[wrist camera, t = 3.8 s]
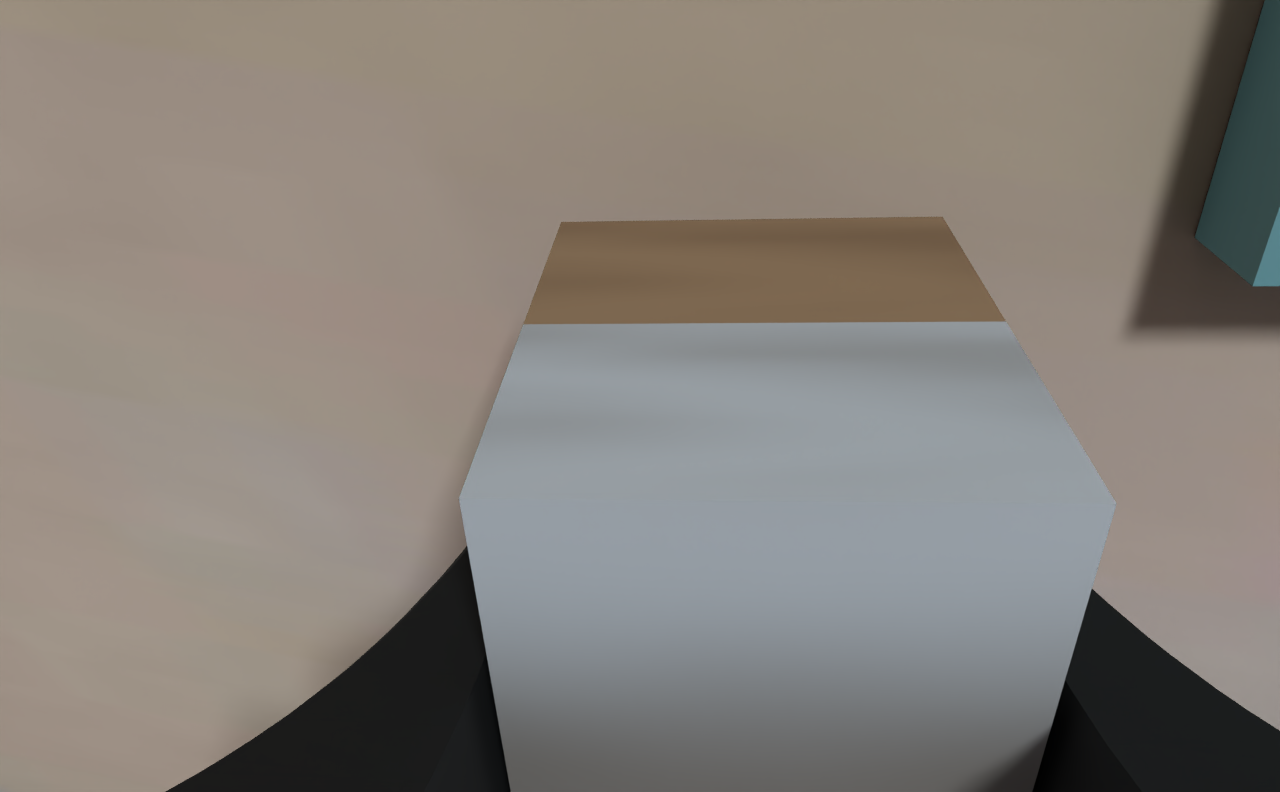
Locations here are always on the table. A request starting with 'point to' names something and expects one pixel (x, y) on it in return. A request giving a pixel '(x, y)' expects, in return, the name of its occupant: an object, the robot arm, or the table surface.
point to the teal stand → (1250, 167)
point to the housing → (776, 517)
